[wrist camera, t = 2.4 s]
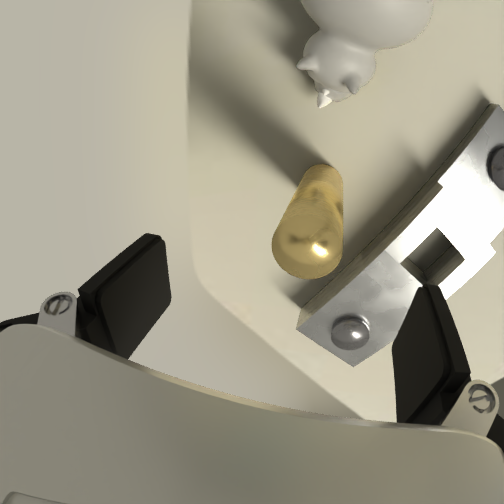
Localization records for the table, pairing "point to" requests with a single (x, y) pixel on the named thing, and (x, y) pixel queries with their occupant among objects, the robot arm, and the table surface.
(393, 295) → the grey flat bar
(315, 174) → the pin
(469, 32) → the table surface
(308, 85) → the table surface
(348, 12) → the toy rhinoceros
